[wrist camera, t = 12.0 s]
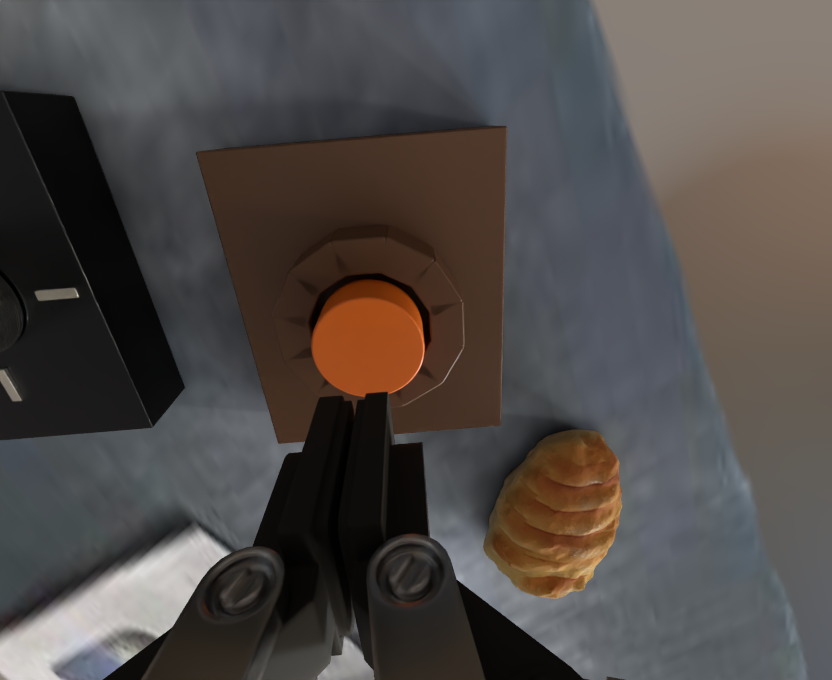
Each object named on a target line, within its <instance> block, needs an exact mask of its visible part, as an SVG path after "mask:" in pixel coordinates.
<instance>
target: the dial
mask: <svg viewBox="0 0 832 680" xmlns="http://www.w3.org/2000/svg"><path fill="white" fill-rule="evenodd" d="M23 324H24V317H23V311H22V308H21V305H20V302H19V300H18V298H17V296H16V294H15V293H14V291H13V290H12V288H11V287H10V286H9V284H8V283H7V282H6V281H5V280H4V279H3V278H2V277H1V275H0V352H2V351H4V350H5V349H7V348H9V347H10V346H12V345H13V344H14V343H15V342H16V341H17V340H18V338H19V336H20V335H21V332H22V329H23Z"/></svg>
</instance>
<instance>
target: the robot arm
mask: <svg viewBox="0 0 832 680" xmlns="http://www.w3.org/2000/svg"><path fill="white" fill-rule="evenodd" d="M355 618H356V623H357V628H358V632H359V637H360V641H361V646H362V650H363V655H364V660H365V661H366V662H367V663H368V665H369V666H370V667H371V668H372V669H373V670H374V678H375V680H588V679H583V678H582V677H581V676H580V675H579V674H578V673H577V672H575V671H574V670H573V669H572V668H571V667H570V666H569V665H567V664H566V663H565V662H564V661H562V660H561V659H560V658H558V657H557V656H556V655H554V654H553V653H552V652H550V651H549V650H548V649H547V648H545V647H544V646H543V645H541V644H540V643H539V642H537V641H536V640H535V639H533V638H532V637H531V636H530V635H528V634H527V633H526V632H524V631H523V630H522V629H520V628H519V627H518V626H516V625H515V624H514V623H513V622H511V621H510V620H509V619H507V618H506V617H505V616H503V615H502V614H501V613H499V612H498V611H497V610H496V609H494V608H493V607H492V606H490V605H489V604H488V603H486V602H485V601H484V600H482V599H481V598H480V597H479V596H477V595H476V594H475V593H473V592H472V591H471V590H469V589H468V588H467V587H465V586H464V585H463V584H462V583H460V582H459V581H458V580H456V577H455V573H454V570H453V566H452V563H451V560H450V558H449V556H448V554H447V552H446V550H445V549H444V548H443V547H442V546H441V545H440V544H439V543H438V542H437V541H436V540H434V539H432V538H430V532H429V519H428V505H427V492H426V479H425V467H424V456H423V445H422V442H421V443H408V444H396V445H395V441H394V432H393V424H392V416H391V408H390V399H389V393H388V392H376V393H366V395H365V399H362V400H357V405H356V411H355V415H354V409H353V404H352V401H351V400H349V401H345V400H344V397H343V396H342V395H339V396H327V397H320V398H319V400H318V403H317V406H316V409H315V412H314V415H313V418H312V422H311V425H310V428H309V431H308V434H307V437H306V440H305V444H304V447H303V450H302V452H298V453H289V454H287V455H286V457H285V459H284V461H283V464H282V467H281V469H280V472H279V475H278V478H277V480H276V483H275V486H274V489H273V491H272V494H271V497H270V500H269V502H268V505H267V508H266V511H265V513H264V516H263V519H262V522H261V524H260V527H259V530H258V533H257V535H256V538H255V541H254V544H253V546H252V547H246V548H243V549H240V550H237V551H234V552H232V553H231V554H229V555H227V556H225V557H224V558H222V559H221V560H219V561H218V562H217V563H216V564H215V565H214V566H213V567H211V568H210V569H209V571H208V572H207V573H206V575H205V576H204V577H203V578H202V580H201V581H200V583H199V584H198V586H197V588H196V589H195V591H194V593H193V594H192V596H191V598H190V599H189V601H188V603H187V604H186V606H185V608H184V609H183V611H182V613H181V614H180V616H179V618H178V619H177V621H176V622H175V624H174V626H173V627H172V628H171V629H170V630H168V631H167V632H166V633H164V634H163V635H162V636H160V637H159V638H158V639H156V640H155V641H154V642H152V643H151V644H150V645H148V646H147V647H146V648H144V649H143V650H142V651H140V652H139V653H138V654H136V655H135V656H134V657H132V658H131V659H130V660H128V661H127V662H126V663H124V664H123V665H122V666H120V667H119V668H118V669H116V670H115V671H114V672H112V673H111V674H110V675H109V676H107V677H106V678H105V679H103V680H317V676H318V675H319V674H320V673H321V672H322V671H323V670H324V669H325V668H326V667H327V666H328V665H329V663H330V659H331V656H335V655H342V647H343V639H344V636H349V635H352V634H353V629H354V620H355ZM606 680H624V679H618V678H613V677H607V678H606Z"/></svg>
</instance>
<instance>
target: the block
mask: <svg viewBox="0 0 832 680" xmlns="http://www.w3.org/2000/svg"><path fill="white" fill-rule="evenodd" d="M506 143H507V127H506V126H483V127H472V128H460V129H448V130H436V131H424V132H412V133H400V134H388V135H376V136H364V137H352V138H340V139H328V140H317V141H305V142H293V143H281V144H269V145H257V146H245V147H233V148H221V149H214V150H207V151H200V152H196V155H197V158H198V162H199V165H200V169H201V172H202V176H203V179H204V183H205V186H206V190H207V193H208V197H209V201H210V204H211V208H212V211H213V215H214V218H215V222H216V225H217V229H218V232H219V236H220V239H221V243H222V246H223V250H224V253H225V257H226V261H227V264H228V268H229V271H230V275H231V278H232V282H233V285H234V289H235V292H236V296H237V299H238V303H239V306H240V310H241V313H242V317H243V321H244V324H245V328H246V331H247V335H248V338H249V342H250V345H251V349H252V352H253V356H254V359H255V363H256V366H257V370H258V373H259V377H260V380H261V384H262V388H263V391H264V395H265V398H266V402H267V405H268V409H269V412H270V416H271V419H272V423H273V426H274V430H275V433H276V437H277V440H278V443H279V444H281V443H293V442H305V440H306V437H307V434H308V431H309V428H310V425H311V422H312V418H313V415H314V412H315V409H316V406H317V403H318V400H319V398H320V397H327V396H339V395H342V396H343V397H344V400H345V401H349V400H351V401H352V404H353V409H354V415H355V411H356V405H357V400H362V399H365V397H362V396H356V395H352V394H349V393H346V392H344V391H342V390H340V389H338V388H336V387H335V386H333V385H332V384H331V383H329V382H328V381H327V380H326V379H325V378H324V377H323V375H322V374H321V373H320V371H319V370H318V368H317V367H316V364H315V362H314V359H313V356H312V350H311V339H312V334H313V331H314V328H315V326H316V323H317V321H318V318H319V316H320V314H321V311H322V309H323V307H324V305H325V303H326V301H327V300H328V298H329V297H330V296H331V295H332V294H333V293H334V292H335V291H336V290H338V289H339V288H341V287H342V286H344V285H346V284H348V283H351V282H354V281H358V280H364V279H373V280H381V281H385V282H388V283H391V284H393V285H395V286H397V287H399V288H400V289H402V290H403V291H404V292H406V293H407V294H408V295H409V296H410V297H411V299H412V300H413V301H414V302H415V304H416V306H417V308H418V310H419V312H420V315H421V319H422V326H423V335H424V344H425V352H424V358H423V362H422V365H421V367H420V369H419V371H418V372H417V374H416V375H415V376H414V378H413V379H412V380H411V381H410V382H409V383H408V384H406V385H405V386H404V387H402V388H401V389H399V390H397V391H395V392H393V393H390V394H389V399H390V408H391V416H392V424H393V432H394V434H403V433H415V432H427V431H439V430H451V429H463V428H476V427H488V426H500V425H501V398H502V347H503V296H504V245H505V194H506Z"/></svg>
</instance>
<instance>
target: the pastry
mask: <svg viewBox="0 0 832 680" xmlns="http://www.w3.org/2000/svg"><path fill="white" fill-rule="evenodd" d="M621 493H622V490H621V487H620V484H619V460H618V458H617V457H616V455H615V454H614V453H613V452H612V451H611V450H610V448H609V447H608V446H607V444H606V442H605V440H604V439H603V437H602V435H601V434H600V433H598V432H597V431H591V430H584V429H574V430H568V431H563V432H559V433H555V434H552V435H549V436H546V437H545V438H544V439H542V440H541V441H540V442H538V443H537V445H536V446H535V448H534V449H531V450H530V451H529V452H528V454H527V457H526V459H525V460H524V461H523V462H522V463H521V464H520V465H519V466H518V467H517V468H515V469H513V470H512V471H511V473H510V474H509V475H508V476H507V478H506V479H505V481H504V486H503V488H502V489H501V491H500V494H499V496H498V498H497V500H496V505H495V507H494V509H493V511H492V513H491V516H490V518H489V529H488V531H487V534H486V537H485V541H484V546H483V548H484V551H485V553H486V555H487V556H488V557H489V558H490V559H491V560H492V561H494V563H495V564H496V565H497V567H498V569H499V570H500V571H501V572H502V573H503V574H505V575H506V576H507V577H509V578H510V580H511V581H512V583H513V584H514V585H515V586H516V587H517V588H519V589H520V590H521V591H523V592H526V593H528V594H532V595H535V596H538V597H546V598H554V599H556V598H560V597H563V596H565V595H566V594H568V593H569V592H571V591H581V590H583V589H584V588H585V583H586V582H588V581H589V580H590V579H591V578H592V577H593V571H594V568H595V567H596V565H597V564H598V563H599V562H600V561H601V560H602V559H603V558H604V557H605V555H606V554H607V551H608V548H609V547H610V546H611V544H612V543H613V541H614V539H615V533H616V528H617V527H618V525H619V516H620V511H621V508H622V503H621Z"/></svg>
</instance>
